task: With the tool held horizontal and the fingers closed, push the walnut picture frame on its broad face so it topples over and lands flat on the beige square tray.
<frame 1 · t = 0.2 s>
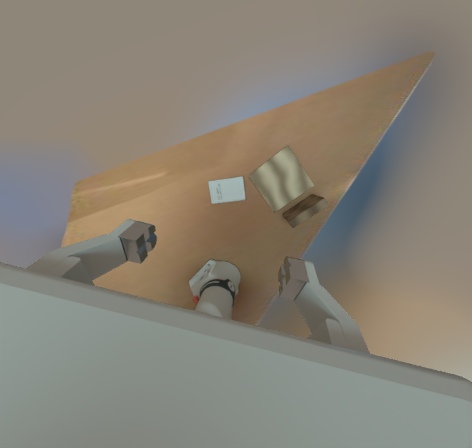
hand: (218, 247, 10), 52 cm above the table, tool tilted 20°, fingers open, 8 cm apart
beige square tray: (280, 180, 59), on the table
walnut picture frame: (298, 207, 61), on the table
external hard drive: (227, 190, 62), on the table
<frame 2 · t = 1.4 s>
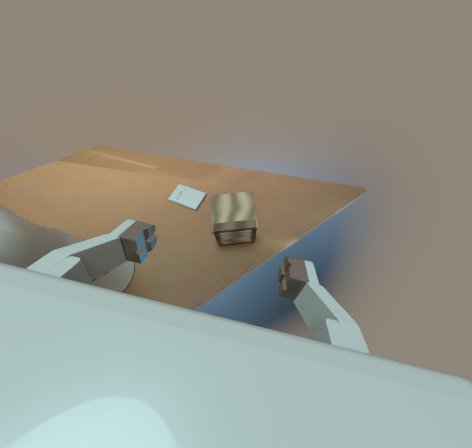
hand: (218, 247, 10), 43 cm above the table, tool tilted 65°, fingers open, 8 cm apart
beige square tray: (233, 211, 63), on the table
walnut picture frame: (236, 240, 57), on the table
external hard drive: (188, 198, 67), on the table
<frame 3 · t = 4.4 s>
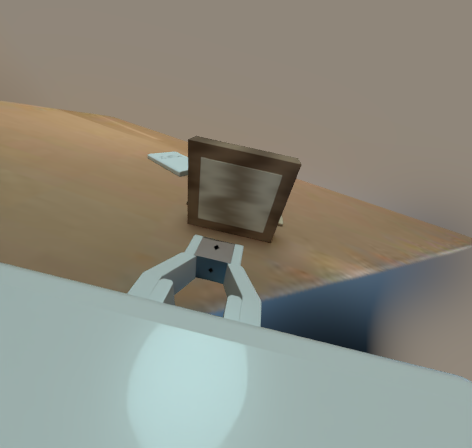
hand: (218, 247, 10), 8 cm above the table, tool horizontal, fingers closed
walnut picture frame: (230, 228, 25), on the table
external hard drive: (177, 167, 42), on the table
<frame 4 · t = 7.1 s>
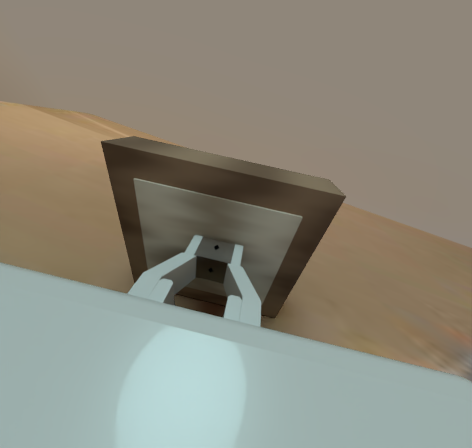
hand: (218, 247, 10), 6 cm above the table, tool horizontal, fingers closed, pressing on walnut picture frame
walnut picture frame: (208, 287, 15), on the table, touching gripper
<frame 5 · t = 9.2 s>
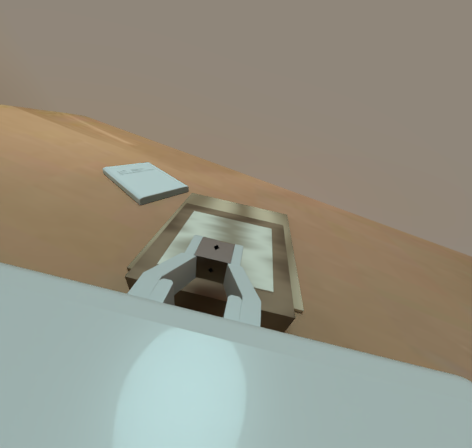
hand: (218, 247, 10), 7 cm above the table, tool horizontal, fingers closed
beige square tray: (229, 235, 22), on the table
walnut picture frame: (207, 306, 12), point 2 cm above the table, tilted 90°, touching beige square tray
external hard drive: (146, 186, 30), on the table
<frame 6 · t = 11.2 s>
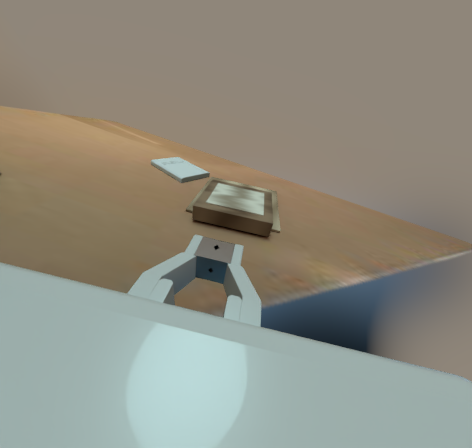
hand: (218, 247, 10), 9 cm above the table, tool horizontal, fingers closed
beige square tray: (239, 200, 35), on the table
walnut picture frame: (231, 221, 25), point 2 cm above the table, tilted 90°, touching beige square tray
external hard drive: (180, 173, 43), on the table
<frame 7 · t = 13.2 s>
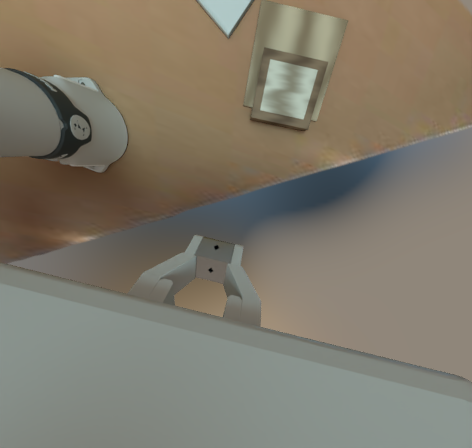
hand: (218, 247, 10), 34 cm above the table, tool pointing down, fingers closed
beige square tray: (291, 67, 34), on the table
walnut picture frame: (278, 124, 36), point 2 cm above the table, tilted 90°, touching beige square tray
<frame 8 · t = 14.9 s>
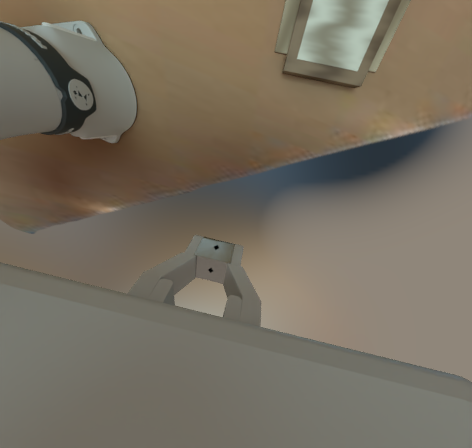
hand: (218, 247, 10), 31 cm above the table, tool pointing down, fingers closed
walnut picture frame: (320, 79, 27), point 2 cm above the table, tilted 90°, touching beige square tray
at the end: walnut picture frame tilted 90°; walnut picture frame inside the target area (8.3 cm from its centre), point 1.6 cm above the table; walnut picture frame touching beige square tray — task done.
